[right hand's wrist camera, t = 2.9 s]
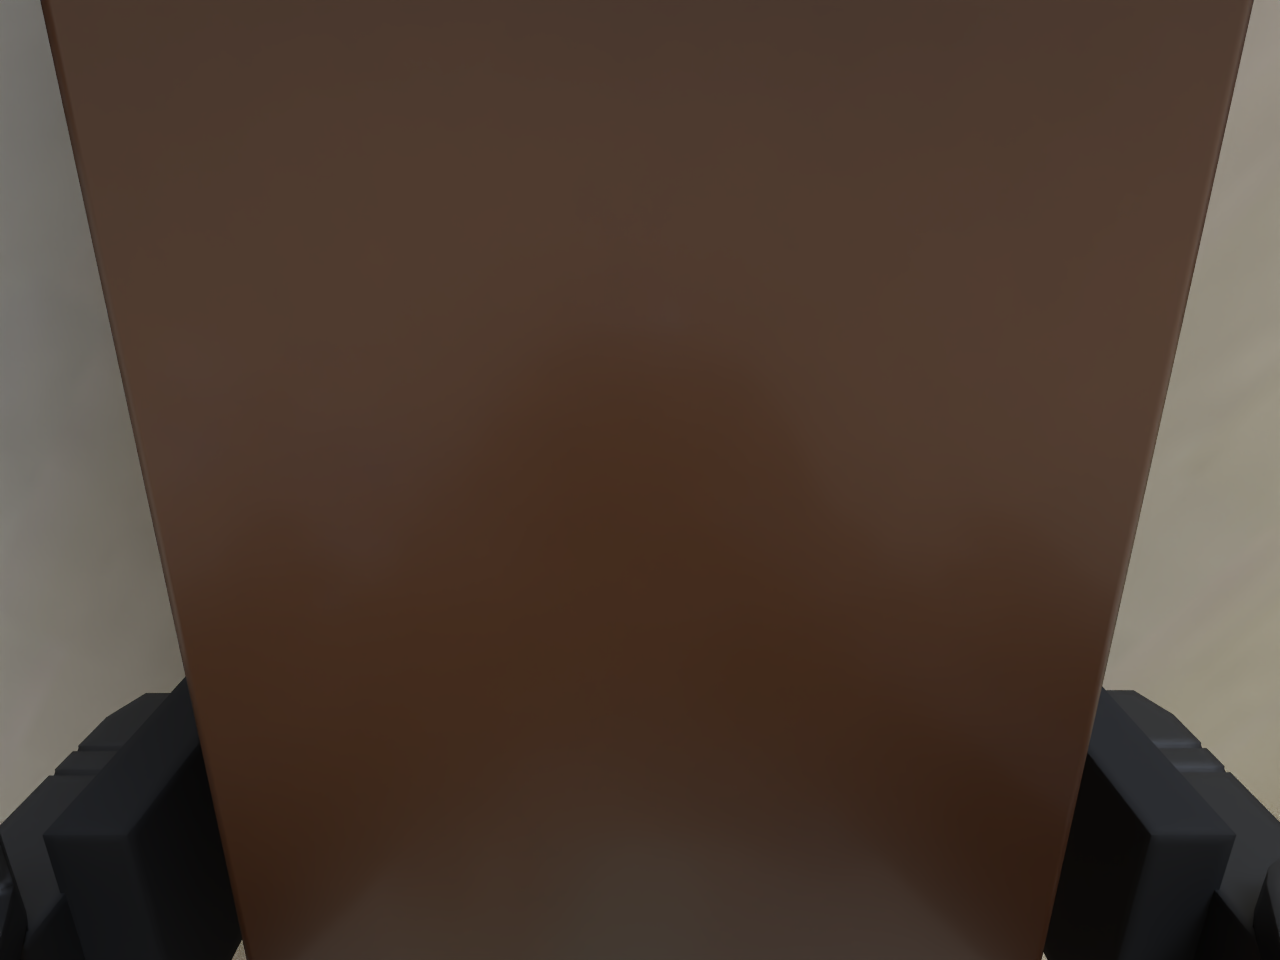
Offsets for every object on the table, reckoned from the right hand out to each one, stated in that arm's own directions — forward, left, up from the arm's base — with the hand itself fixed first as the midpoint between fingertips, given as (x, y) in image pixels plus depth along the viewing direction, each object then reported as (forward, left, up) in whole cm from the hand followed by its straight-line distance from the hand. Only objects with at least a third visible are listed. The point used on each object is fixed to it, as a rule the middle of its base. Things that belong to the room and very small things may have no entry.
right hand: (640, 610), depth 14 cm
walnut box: (+6, +6, 0) cm, 9 cm away
